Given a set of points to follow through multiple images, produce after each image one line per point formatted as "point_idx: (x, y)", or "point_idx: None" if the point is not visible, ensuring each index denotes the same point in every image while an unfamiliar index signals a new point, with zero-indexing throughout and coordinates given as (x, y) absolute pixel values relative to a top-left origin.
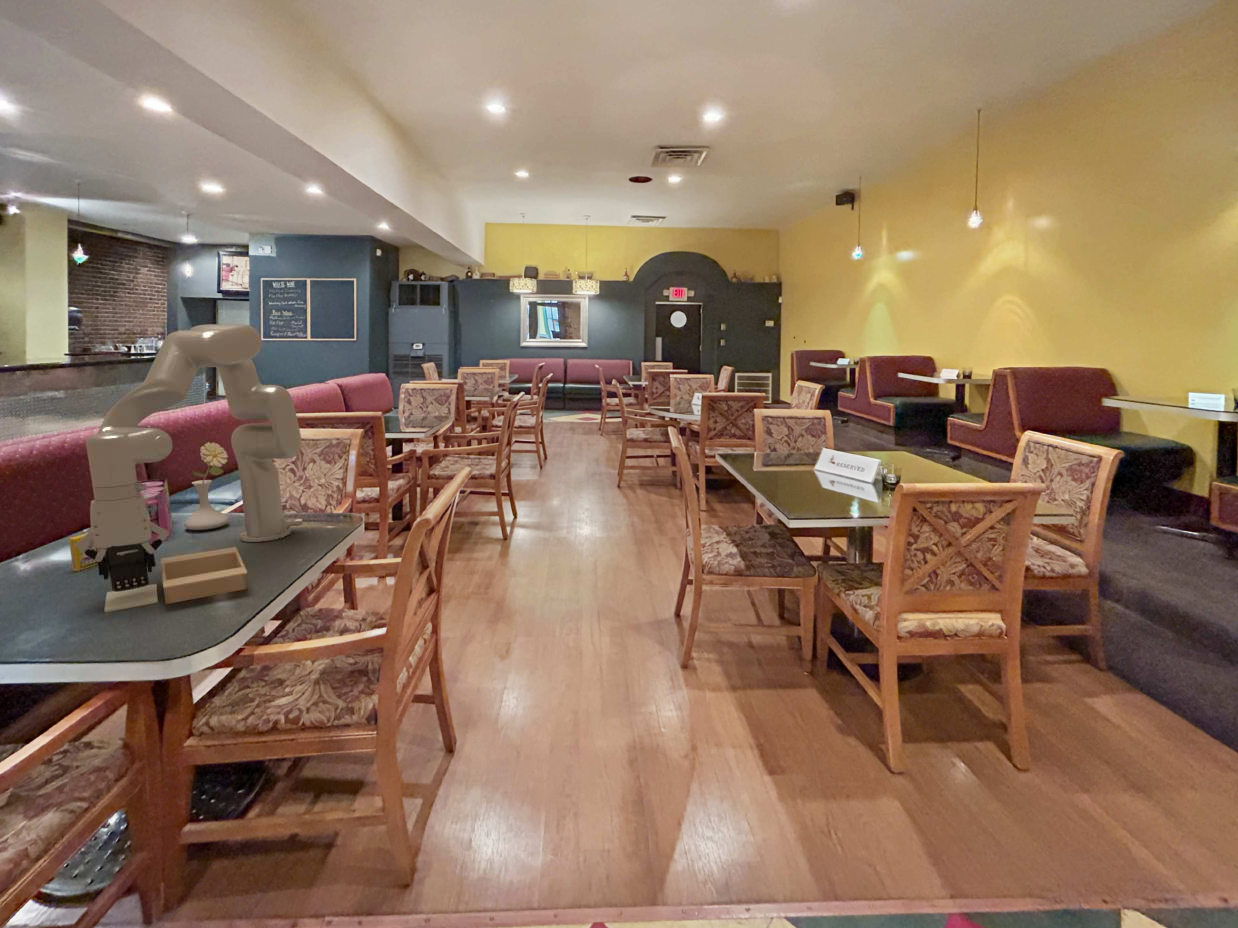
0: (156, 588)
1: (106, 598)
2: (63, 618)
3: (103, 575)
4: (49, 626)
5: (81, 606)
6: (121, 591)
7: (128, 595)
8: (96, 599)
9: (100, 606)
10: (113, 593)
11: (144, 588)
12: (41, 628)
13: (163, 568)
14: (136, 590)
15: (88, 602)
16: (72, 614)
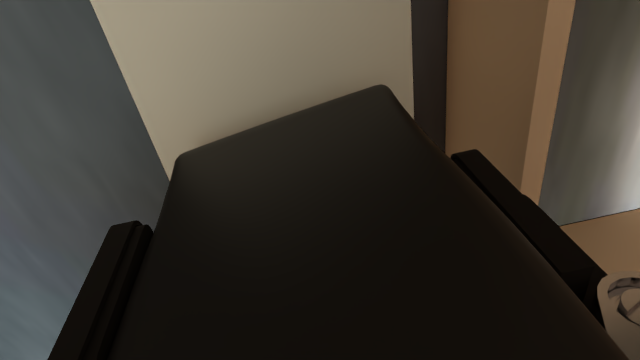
0: (411, 51)
1: (148, 126)
2: (53, 291)
3: None
4: (49, 348)
5: (39, 165)
6: (194, 12)
7: (268, 120)
8: (63, 66)
9: (158, 199)
10: (151, 36)
11: (338, 12)
12: (28, 357)
13: (543, 118)
14: (294, 37)
15: (40, 108)
16: (66, 259)
